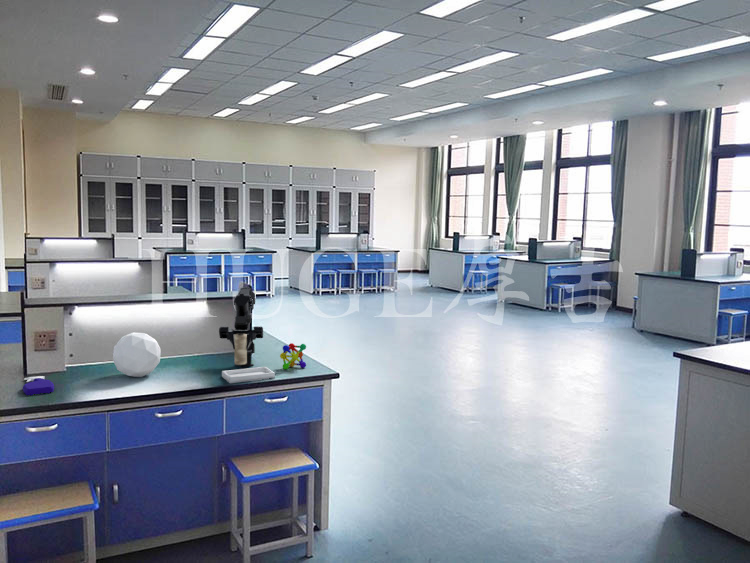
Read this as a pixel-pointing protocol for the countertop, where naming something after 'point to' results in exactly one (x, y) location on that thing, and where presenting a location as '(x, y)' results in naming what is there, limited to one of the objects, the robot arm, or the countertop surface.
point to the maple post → (240, 349)
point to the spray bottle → (38, 385)
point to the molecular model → (293, 356)
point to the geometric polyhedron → (136, 354)
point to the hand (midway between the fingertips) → (240, 348)
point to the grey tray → (247, 374)
